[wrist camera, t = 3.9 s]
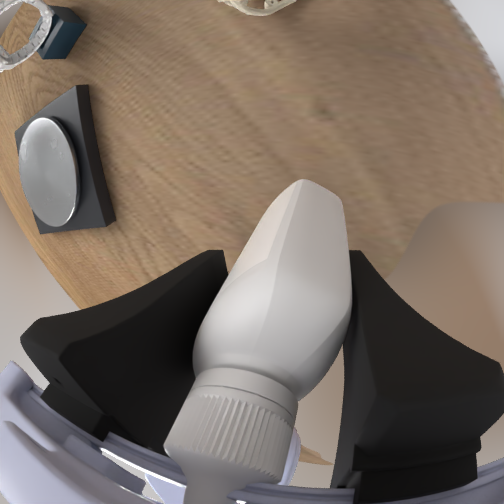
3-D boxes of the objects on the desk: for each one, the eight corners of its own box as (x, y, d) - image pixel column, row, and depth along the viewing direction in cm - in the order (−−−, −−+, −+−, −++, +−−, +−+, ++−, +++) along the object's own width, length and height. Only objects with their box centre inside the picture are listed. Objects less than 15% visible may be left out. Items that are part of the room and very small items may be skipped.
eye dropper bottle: (223, 224, 14) (55, 448, 4) (320, 164, 11) (241, 554, 1) (272, 288, 15) (187, 518, 5) (367, 244, 12) (384, 543, 2)
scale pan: (93, 219, 22) (89, 222, 22) (38, 228, 26) (35, 230, 25) (67, 99, 17) (62, 99, 16) (15, 137, 20) (12, 138, 20)
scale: (116, 220, 24) (106, 227, 23) (46, 229, 28) (38, 234, 27) (88, 84, 18) (75, 85, 17) (22, 130, 22) (13, 133, 21)
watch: (41, 52, 16) (-37, 63, 7) (77, -6, 13) (-5, -13, 3) (57, 74, 18) (-30, 88, 8) (97, 10, 14) (4, 1, 5)
